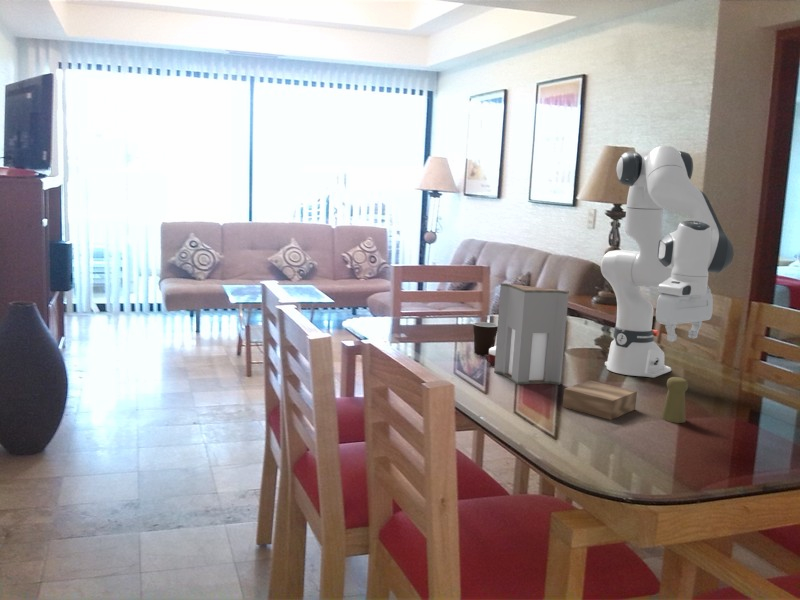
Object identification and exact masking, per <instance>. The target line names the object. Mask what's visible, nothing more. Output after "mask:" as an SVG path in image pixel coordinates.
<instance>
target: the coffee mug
mask: <svg viewBox="0 0 800 600" xmlns="http://www.w3.org/2000/svg"><path fill="white" fill-rule="evenodd" d="M472 328H473V345H474V346H473V351H474V353H475V354H477V355H480V356H487V355H488V353H489V349H490V348H491V347H494V346H496V341H497V328H498V323H493V322H486V321H477V322H476V321H475V322H473V324H472Z"/></svg>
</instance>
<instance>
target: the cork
mask: <svg viewBox="0 0 800 600" xmlns="http://www.w3.org/2000/svg"><path fill="white" fill-rule="evenodd" d="M666 388H667V393H666V398H665V402H664V404H663V409H662V413H661V417H660V418H661V419H662V420H663V421H666V422H670V423H675V424H676V423H677V424H679V423H681V424H682V423H683V424H684V423H686V422H687V421H686V391H687V390H688V388H689V383H688V381H687V380H686V379H685V378H683V377H679V376H672V377H669V378H668V379H667V381H666Z"/></svg>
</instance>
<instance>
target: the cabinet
mask: <svg viewBox="0 0 800 600" xmlns="http://www.w3.org/2000/svg"><path fill="white" fill-rule="evenodd" d="M499 289H500V291H499V300H498V301H499V302H498V303H499V304H498V316H497V325H498V328H497V335H496V340H495V346H496V355H495V365H494V370H493V373H494V374H500V375H502V376H504V377H506V378H507V379H509V380H510V381H512V382H513V383H515V384H516V385H534V384H535V385H537V384H539V385H540V384H553V385H558V386H559V385H561V384H562V375H563V374H562V372H563V363H564V362H563V361H564V351H565V339H566V338H565V337H566V327H567V316H568V307H569V306H568V305H569V297H570V296H569V293H570V292H569V290H563V289H554V288H546V287H539V286H530V285H521V284H514V283H506V282H505V283H504V282H503V283H500V288H499Z"/></svg>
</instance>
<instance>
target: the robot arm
mask: <svg viewBox="0 0 800 600" xmlns="http://www.w3.org/2000/svg"><path fill="white" fill-rule="evenodd" d="M615 171H616V174H617V180H618V181H619V183H620V184H621V185H624V186H628V187H629V189H628V192H627V193H628V194H627V197H626V198H627V199H626V208H625V221H624V231H625V234H626V235H627V236H628V237H629V238H630V239H632V240H634V241H635V243H636V244H637V246H638V251H637V250H629V249H615V250H609V251H607V252H606V253H605V254H604V255H603V257H602V259H601V262H600V272H601V274H602V276H603V278H604V279H605V280H607V282H608V283H609V284H610V286H611V287H612V290H613V292H614V295H615V297H616V322H615V326H614V329H613V338H614V339H613V340H611V342H610V346H609V351H608V356H607V360H606V361H605V362H604V366H606V369H607V370H608V371H610V372H613V373H616V374H620V375H626V376H634V377H635V376H636V377H647V378H656V377H659V376H662V375H664V374H667V373H669V372H671V371H672V367H670V366H669V365H665V358H666V357H665V352H664V350H663V349H661V348H660V347H659V345H658V344H657V343H656V342H655V337H658V336H659V335H660V331H659V330H658V329H656V330H655V329H652V328H653V320H654V319H653V318H654V312H655V319H656V322H657V323H658V324H661V325H664V327H665V331H666V333H667V336H666V337H667V338H666V340H667V342H672V343H673V342H676V341H677V339H678V334H676V328H677V325H682V324H690V323H691V328H690V330H688V335H687V337H688V338H689V339H697V338H698V335H699V334H698V333H699V331H700V329H701V327H702V325H703V322H704V321H709V320H711V319H712V316H713V309H714V308H713V307H714V298H713V294H712V290H711V288H710V286H709V285H708V281H709V273H716V274H719V273H721V272H723V271H725V269H727V268H728V267H729V266H730V265H732V262H733V259H734V251H735V250H734V245H733V243H732V241H731V240H730V238H729V237H728V235H727V234H726V233H725V232H724V229H723V228H722V226H721V223H720V220H719V219H718V217H717V214H716V213H715V211H714V209H713V208H714V207H713V206H712V204H711V202H710V199H709V198H708V197H707V195H706V194H705V193H704V192H703V191H702V190H700V189H699V188H698V187H697V186H695V184H694V183H693V182H692V181H691V179H692V176H693V174H694V162H693V158H692V156H691V155H690V153H688V152H685V151H682V150H681V151H680V150H678V149H677V148H676V147H674V146H671V145H667V144H665V145H664V144H663V145H660V146H656V147H654V148H653V149H651V150H650V149H649V150H638V151H636V150H629V151H626V152H625V151H624V152H623V153H622V154H621V155H620V156H619V159H618V161H617V163H616V170H615ZM664 210H668V211H671V212H675V213H679V214H681V215H684V216H686V217H689V218H691V219H692V220H685V221H681V222H680V223H679V224H678V226H677V229H676V230H675V231H673V232H667V233H666V234H665V235H663V216H664V215H663V214H664V212H663V211H664ZM640 287H644V288H651V289H657V292H658V293H659V296H658V297H657V300H656V307H655V308H656V309H655V310H656V311H654V306H653V303H652V302H651V301H650V300H649V299H647V298H646V297H645V296H644V295H643V294H642V292H641V289H640Z"/></svg>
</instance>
